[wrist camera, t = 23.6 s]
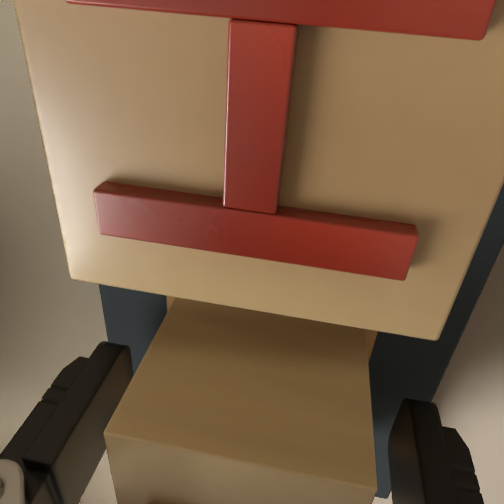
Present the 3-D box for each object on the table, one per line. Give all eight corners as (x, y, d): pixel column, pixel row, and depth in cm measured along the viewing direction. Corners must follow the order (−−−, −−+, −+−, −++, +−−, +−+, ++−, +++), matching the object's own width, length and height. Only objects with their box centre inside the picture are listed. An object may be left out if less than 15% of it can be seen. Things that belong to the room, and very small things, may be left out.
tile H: (165, -122, 7) (-68, -265, 3) (481, -105, 6) (714, -256, 2) (174, 166, 10) (58, 292, 6) (398, 196, 9) (443, 357, 5)
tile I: (179, 287, 12) (95, 445, 8) (365, 318, 11) (379, 506, 7) (183, 405, 14) (122, 567, 10) (332, 435, 14) (329, 618, 10)
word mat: (21, -406, 6) (-32, -473, 5) (767, -428, 5) (858, -517, 4) (134, 422, 17) (122, 446, 16) (385, 473, 16) (388, 503, 15)
